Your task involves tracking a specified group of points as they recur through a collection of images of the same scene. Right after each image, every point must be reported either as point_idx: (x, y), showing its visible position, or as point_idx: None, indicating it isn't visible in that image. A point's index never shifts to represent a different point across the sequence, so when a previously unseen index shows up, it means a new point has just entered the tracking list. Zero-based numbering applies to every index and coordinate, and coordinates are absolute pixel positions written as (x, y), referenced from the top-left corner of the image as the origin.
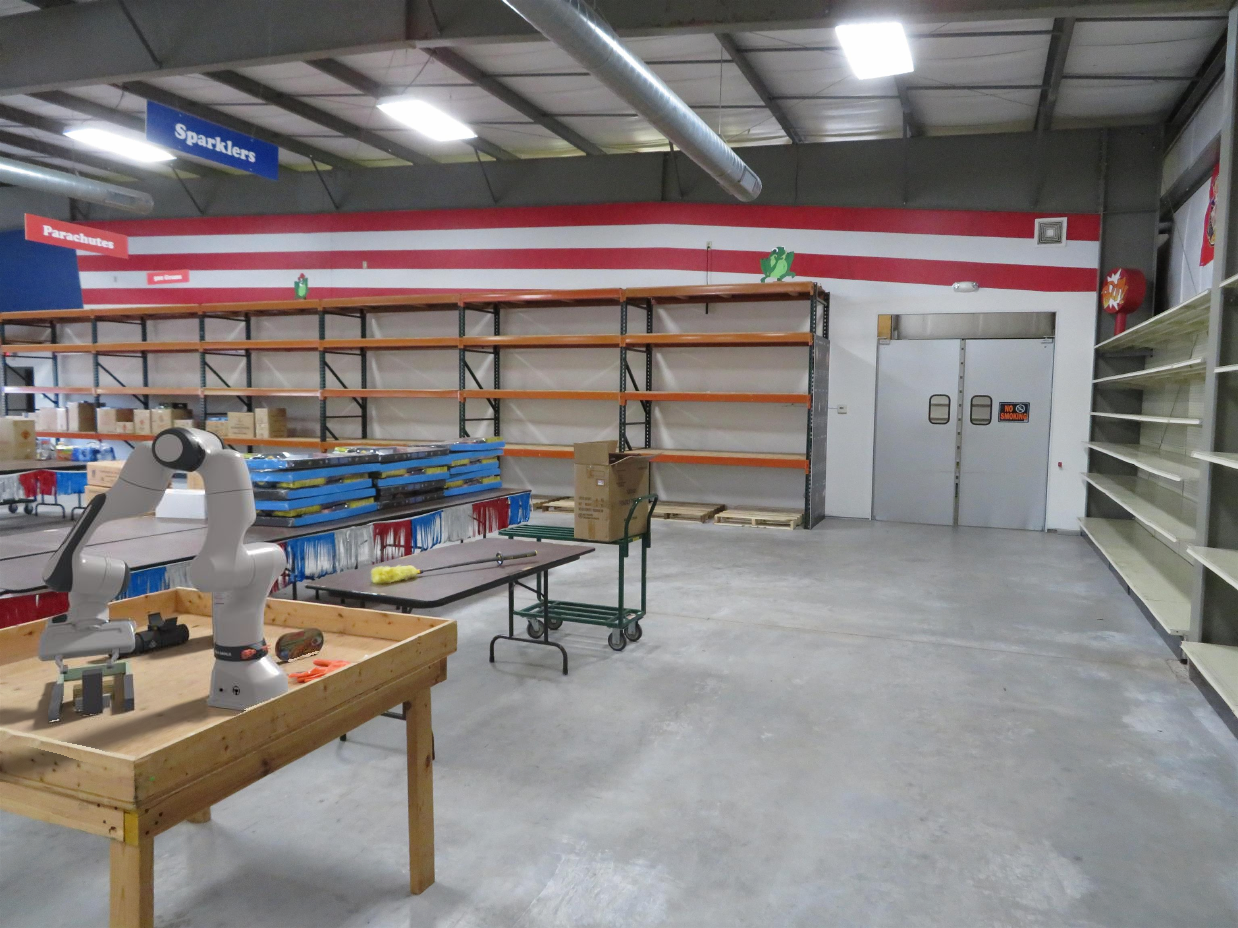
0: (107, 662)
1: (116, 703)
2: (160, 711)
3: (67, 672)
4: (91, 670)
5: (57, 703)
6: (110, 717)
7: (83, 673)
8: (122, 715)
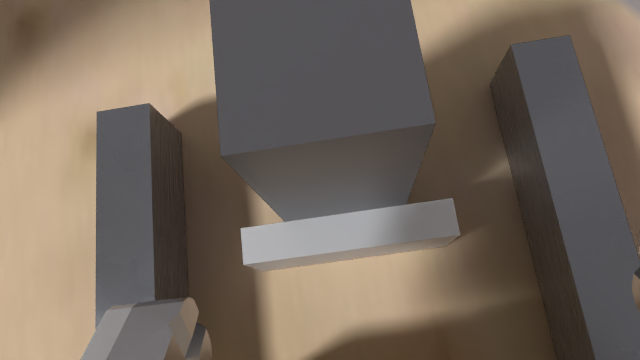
0: (164, 328)
1: (231, 290)
2: (22, 75)
3: (638, 275)
4: (330, 91)
5: (557, 157)
6: None
7: (397, 4)
8: (189, 75)
